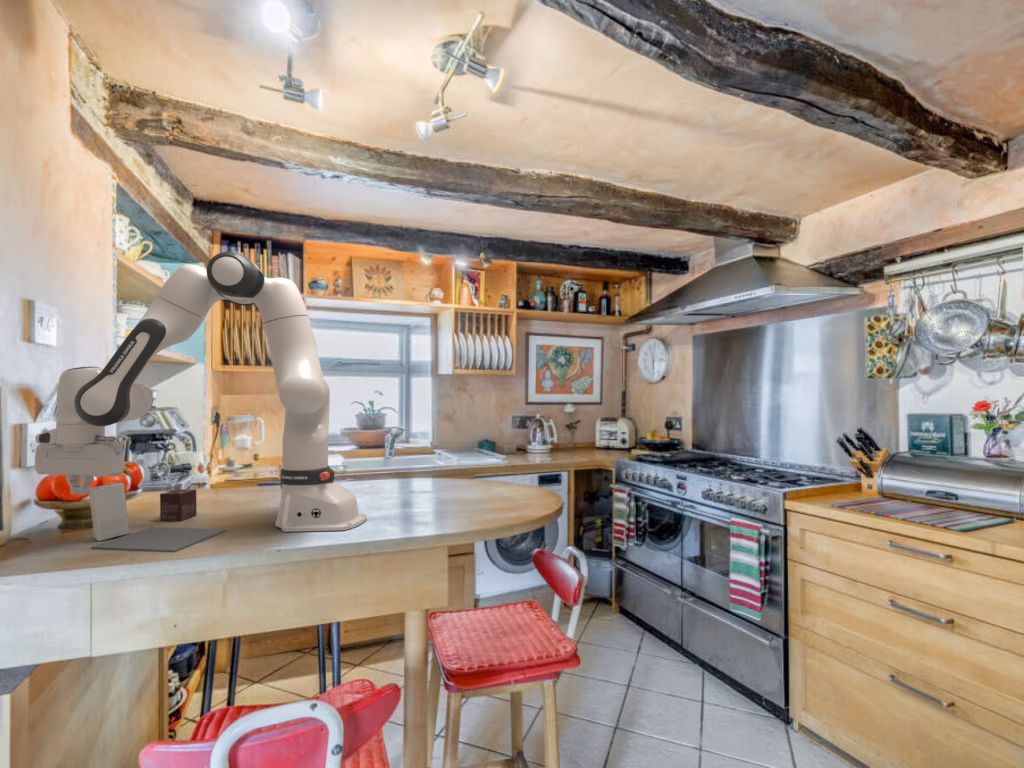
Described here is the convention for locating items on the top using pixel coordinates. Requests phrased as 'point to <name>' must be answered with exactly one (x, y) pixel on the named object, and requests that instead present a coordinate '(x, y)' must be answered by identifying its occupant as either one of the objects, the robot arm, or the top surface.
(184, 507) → the box
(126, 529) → the skincare box
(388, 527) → the top surface
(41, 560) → the top surface
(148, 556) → the top surface
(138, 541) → the mat
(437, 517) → the top surface
